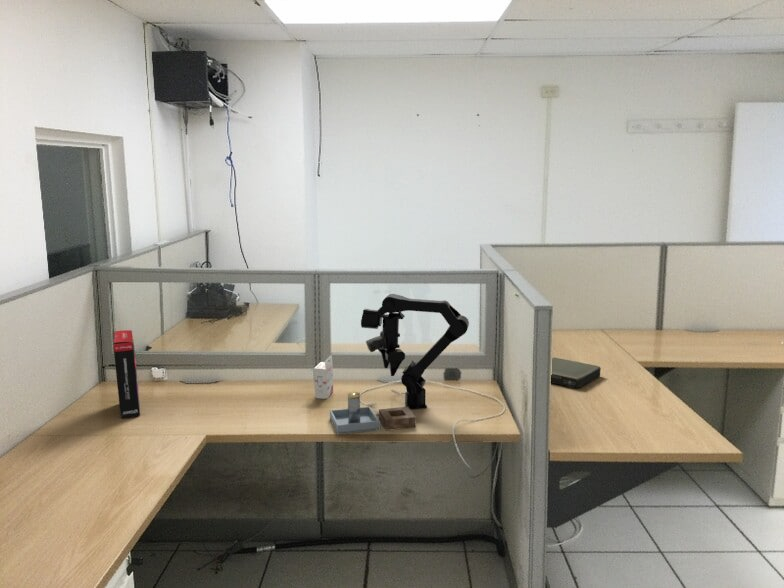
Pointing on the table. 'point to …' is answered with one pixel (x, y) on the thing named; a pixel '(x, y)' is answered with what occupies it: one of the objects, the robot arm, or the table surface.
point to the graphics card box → (126, 373)
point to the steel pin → (353, 407)
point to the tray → (366, 423)
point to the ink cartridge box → (323, 379)
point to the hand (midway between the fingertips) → (389, 372)
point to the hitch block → (397, 418)
